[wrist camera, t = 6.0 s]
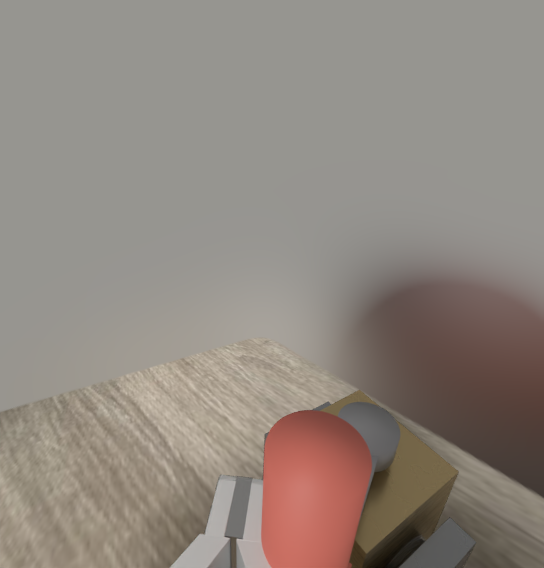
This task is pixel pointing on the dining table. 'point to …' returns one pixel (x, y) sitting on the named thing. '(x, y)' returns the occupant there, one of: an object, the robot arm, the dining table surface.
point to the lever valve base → (407, 508)
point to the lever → (321, 482)
